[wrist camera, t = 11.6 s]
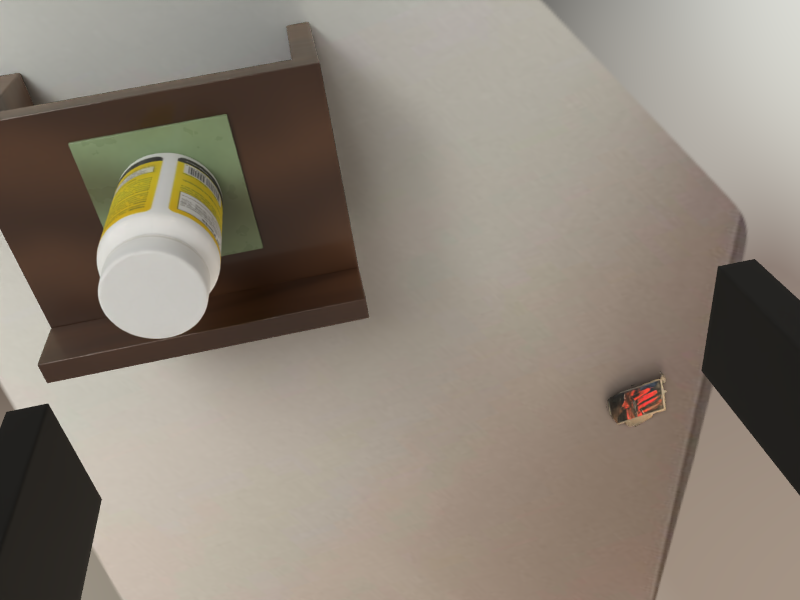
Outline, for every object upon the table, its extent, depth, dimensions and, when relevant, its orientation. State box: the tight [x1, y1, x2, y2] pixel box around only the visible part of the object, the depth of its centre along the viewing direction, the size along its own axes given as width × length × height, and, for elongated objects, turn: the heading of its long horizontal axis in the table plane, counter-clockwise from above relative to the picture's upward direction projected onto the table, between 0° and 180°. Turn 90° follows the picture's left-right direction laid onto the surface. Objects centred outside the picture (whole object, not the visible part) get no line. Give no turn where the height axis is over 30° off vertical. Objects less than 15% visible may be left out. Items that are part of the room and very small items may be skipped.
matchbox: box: [608, 371, 667, 427], centre depth 58 cm, size 5×5×1 cm
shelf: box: [0, 22, 369, 383], centre depth 37 cm, size 12×16×10 cm
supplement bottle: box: [97, 153, 223, 339], centre depth 31 cm, size 5×5×8 cm
